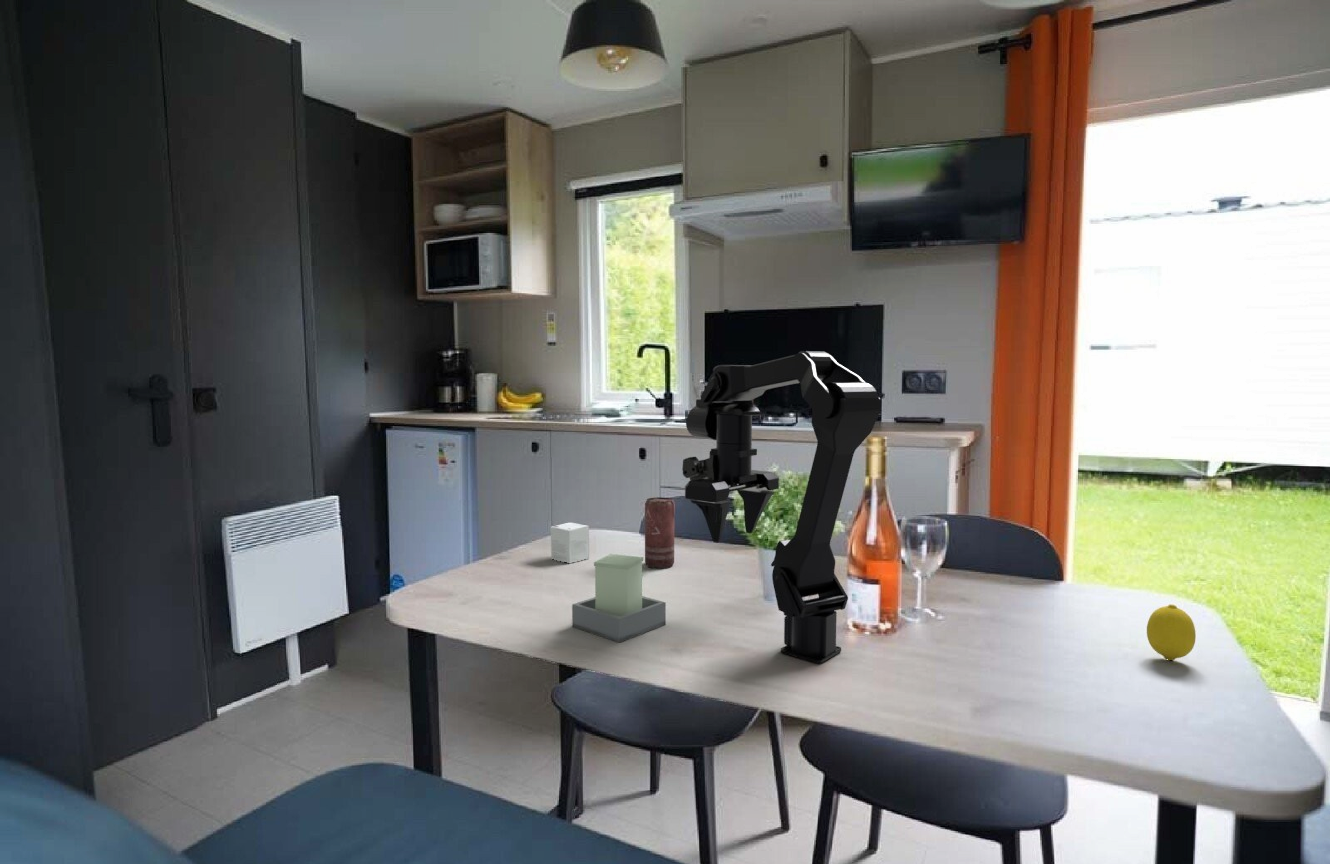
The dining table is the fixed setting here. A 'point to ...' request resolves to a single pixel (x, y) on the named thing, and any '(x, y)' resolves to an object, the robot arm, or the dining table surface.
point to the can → (659, 532)
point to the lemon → (1171, 632)
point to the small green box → (618, 584)
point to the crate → (619, 619)
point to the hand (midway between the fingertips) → (733, 537)
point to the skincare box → (570, 542)
